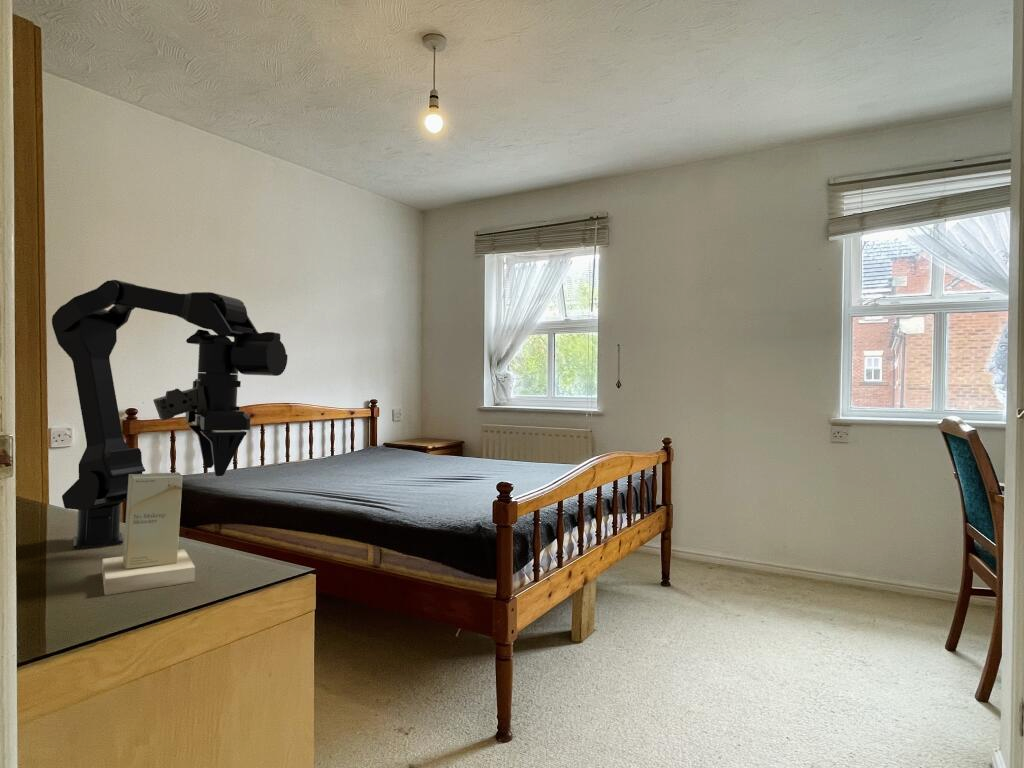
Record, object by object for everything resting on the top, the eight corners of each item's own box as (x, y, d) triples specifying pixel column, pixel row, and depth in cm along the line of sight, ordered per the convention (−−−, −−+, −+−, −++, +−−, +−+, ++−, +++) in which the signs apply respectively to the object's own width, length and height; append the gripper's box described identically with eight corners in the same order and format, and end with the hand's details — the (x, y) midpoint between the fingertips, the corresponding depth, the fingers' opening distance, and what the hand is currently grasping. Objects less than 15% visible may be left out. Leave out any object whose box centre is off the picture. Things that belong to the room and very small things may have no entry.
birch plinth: (101, 573, 80) (102, 558, 80) (183, 562, 86) (184, 549, 86) (104, 595, 72) (105, 579, 72) (194, 581, 78) (195, 567, 78)
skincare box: (124, 570, 76) (129, 478, 76) (122, 561, 79) (126, 473, 79) (179, 563, 80) (183, 475, 80) (174, 555, 83) (178, 471, 83)
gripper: (152, 371, 94) (147, 466, 94) (166, 371, 79) (161, 484, 79) (227, 374, 100) (222, 463, 100) (253, 374, 86) (248, 479, 85)
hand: (213, 471), depth 91 cm, fingers open, 9 cm apart
